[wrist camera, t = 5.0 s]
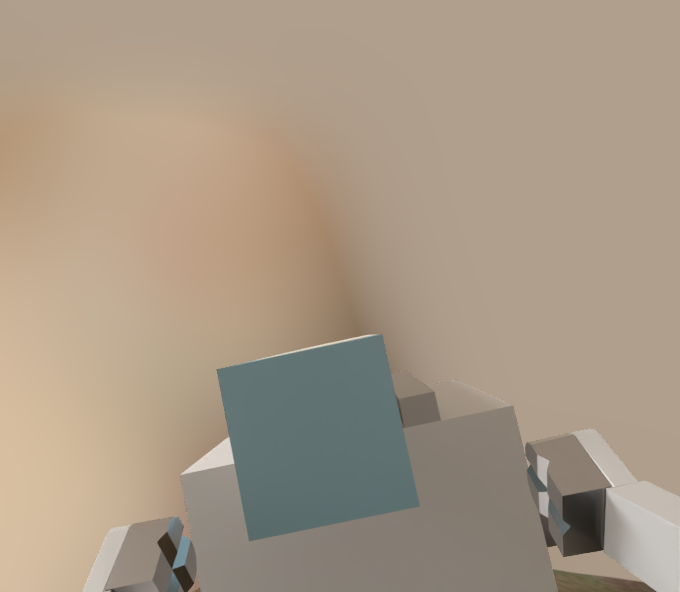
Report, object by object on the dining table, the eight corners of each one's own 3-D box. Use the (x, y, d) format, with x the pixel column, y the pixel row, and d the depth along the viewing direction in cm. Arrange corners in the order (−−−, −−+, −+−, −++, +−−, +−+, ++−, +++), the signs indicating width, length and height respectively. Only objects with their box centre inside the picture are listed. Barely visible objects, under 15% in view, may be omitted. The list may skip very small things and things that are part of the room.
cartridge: (419, 506, 11) (382, 333, 12) (248, 541, 11) (216, 369, 12) (379, 393, 33) (367, 334, 33) (321, 405, 33) (309, 347, 34)
